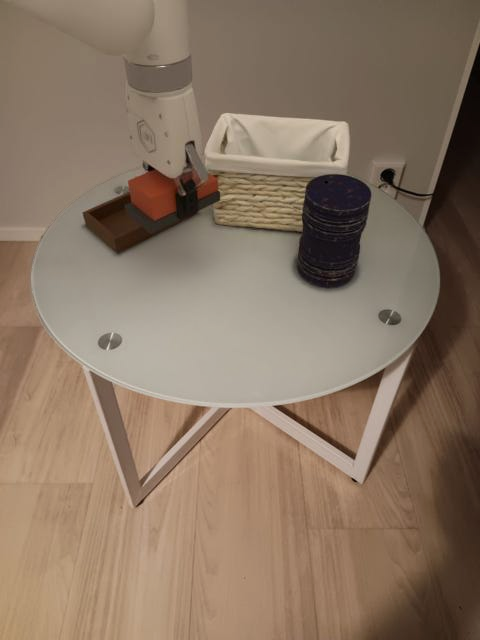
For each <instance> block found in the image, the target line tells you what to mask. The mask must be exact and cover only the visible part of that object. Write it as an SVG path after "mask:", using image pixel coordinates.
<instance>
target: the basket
mask: <svg viewBox="0 0 480 640" xmlns="http://www.w3.org/2000/svg"><path fill="white" fill-rule="evenodd" d="M350 150H351V135H350V125H349V123H348V122H347V121H342V120H341V121H340V120H339V121H338V120H327V119H318V118H317V119H316V118H301V117H300V118H299V117H283V116H281V117H280V116H269V115H259V114H258V115H257V114H246V113H232V112H225V113H222V114H220V116H219V118H218V119H217V120H216V123H215V125H214V127H213V130H212V131H211V135H210V136H209V139H208V141H207V143H206V145H205V148H204V154H203V155H204V167H205V169H206V170H207V171H208V173H209V174H211V175H212V176H214V177H215V178H217V179H218V191H220V201H218V202H216V203H214V204H212V205H211V206H212V207H213V216H214V222H215V224H218V225H224V226H230V227H233V226H235V227H236V226H237V227H242V228H243V227H244V228H245V227H248V228H254V229H258V228H259V229H267V230H272V229H273V230H282V231H295V232H300V233H302V230H303V223H302V213H303V202H304V199H305V190H306V186H307V184H308V183H309V182H310V181H311V180H312V179H314V178H316V177H318V176H322V175H327V174H342V175H347V176H348V166H349V159H350Z"/></svg>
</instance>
